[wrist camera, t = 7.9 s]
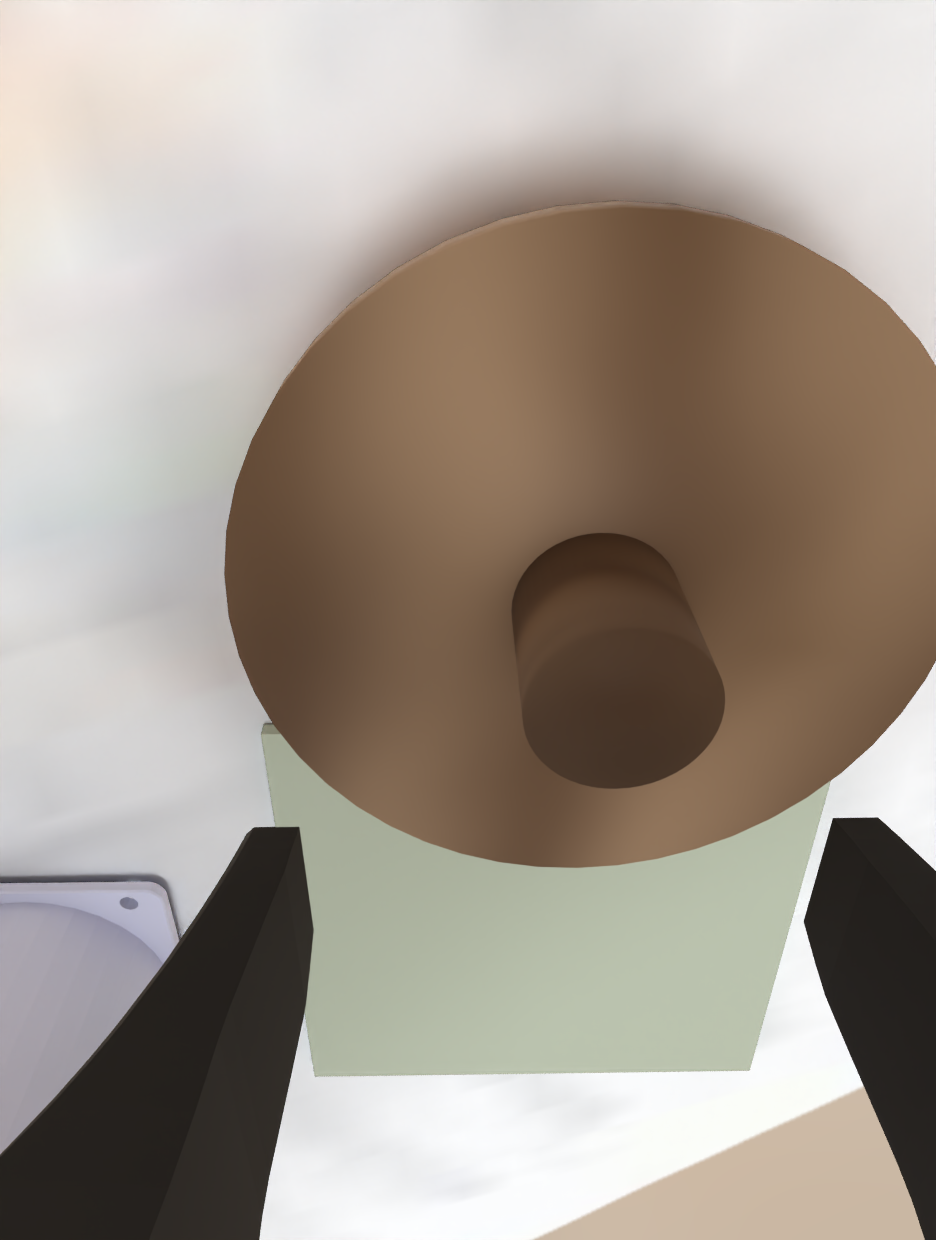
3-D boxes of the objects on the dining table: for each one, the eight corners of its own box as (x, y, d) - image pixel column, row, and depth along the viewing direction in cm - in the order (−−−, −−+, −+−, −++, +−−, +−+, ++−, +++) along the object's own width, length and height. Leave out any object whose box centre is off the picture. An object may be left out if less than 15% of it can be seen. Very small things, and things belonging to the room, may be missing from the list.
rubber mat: (316, 1065, 31) (314, 1076, 31) (263, 724, 23) (260, 734, 23) (746, 1059, 31) (749, 1070, 31) (839, 719, 23) (845, 728, 23)
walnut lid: (282, 846, 20) (248, 997, 17) (171, 208, 13) (77, 253, 10) (864, 834, 20) (943, 982, 17) (1057, 193, 13) (1256, 231, 10)
